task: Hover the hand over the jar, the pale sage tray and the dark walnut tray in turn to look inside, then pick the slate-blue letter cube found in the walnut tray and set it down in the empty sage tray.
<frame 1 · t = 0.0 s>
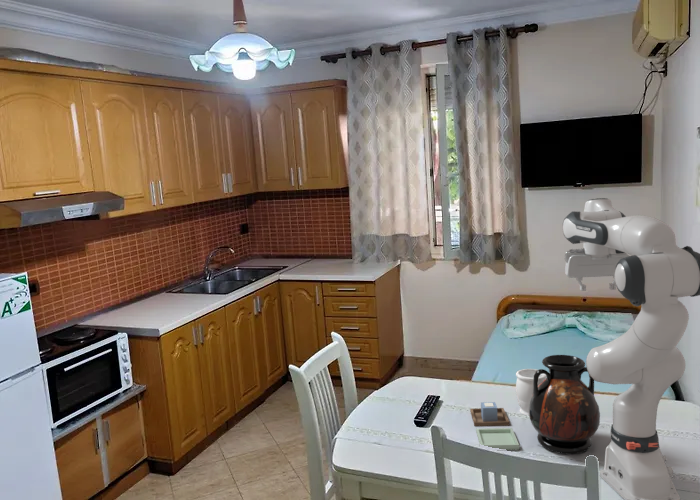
hand: (597, 289, 191), 48 cm above the table, tool pointing down, fingers open, 8 cm apart
letter cube: (489, 418, 208), point 1 cm above the table, touching walnut tray
jar: (531, 413, 212), on the table
walnut tray: (489, 419, 208), on the table
amphora vase: (564, 444, 188), on the table
sage tray: (497, 441, 192), on the table
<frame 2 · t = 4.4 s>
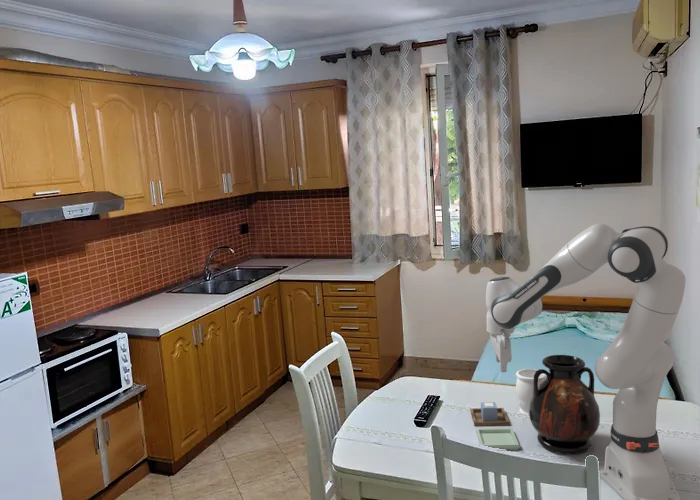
hand: (501, 366, 192), 25 cm above the table, tool pointing down, fingers open, 8 cm apart
nothing on the table moved.
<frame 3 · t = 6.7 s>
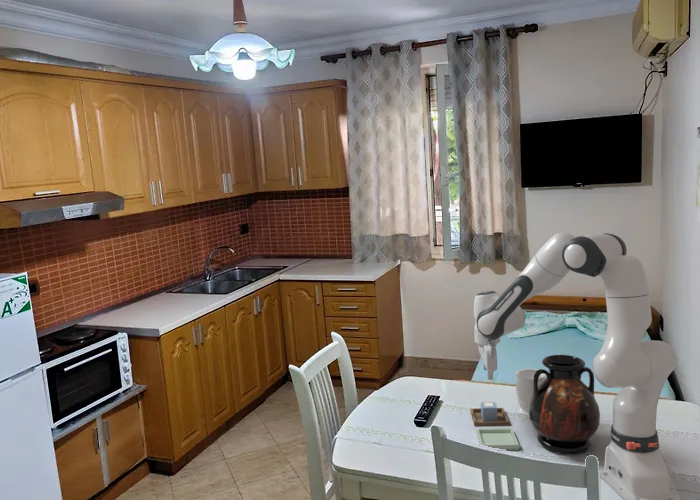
hand: (488, 374, 206), 17 cm above the table, tool pointing down, fingers open, 8 cm apart
nothing on the table moved.
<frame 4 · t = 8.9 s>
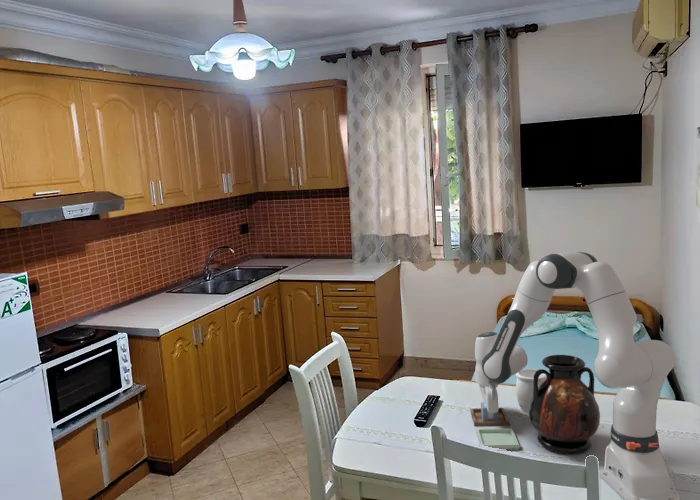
hand: (489, 414, 208), 2 cm above the table, tool pointing down, fingers closed on letter cube, 5 cm apart
letter cube: (489, 418, 208), point 1 cm above the table, touching gripper, walnut tray
everything else where it was.
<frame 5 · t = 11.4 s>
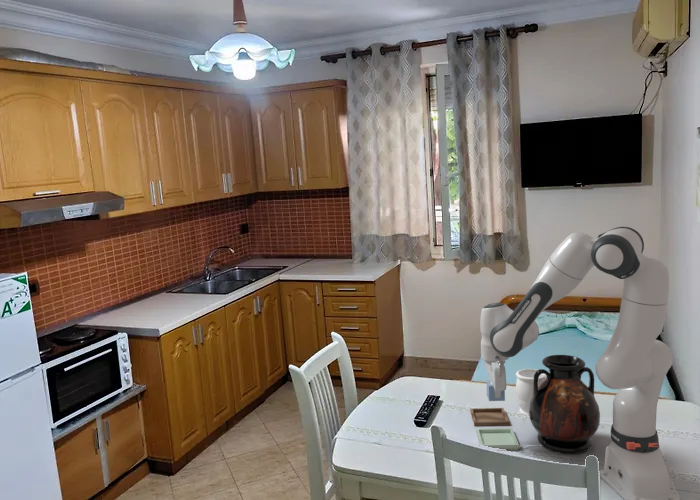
hand: (495, 393, 190), 17 cm above the table, tool pointing down, fingers closed on letter cube, 5 cm apart
letter cube: (495, 397, 190), point 15 cm above the table, touching gripper
everything else where it was.
when the fingers open (5 cm above the table, at t = 14.2 s): letter cube drops 2 cm, resting on sage tray.
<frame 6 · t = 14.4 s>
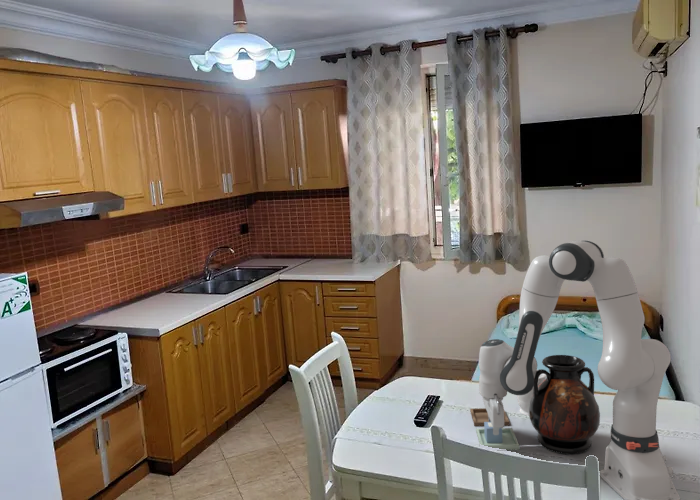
hand: (493, 428, 192), 5 cm above the table, tool pointing down, fingers open, 7 cm apart
letter cube: (493, 439, 193), point 1 cm above the table, touching sage tray
amphora vase: (564, 444, 188), on the table, touching arm
everything else where it was.
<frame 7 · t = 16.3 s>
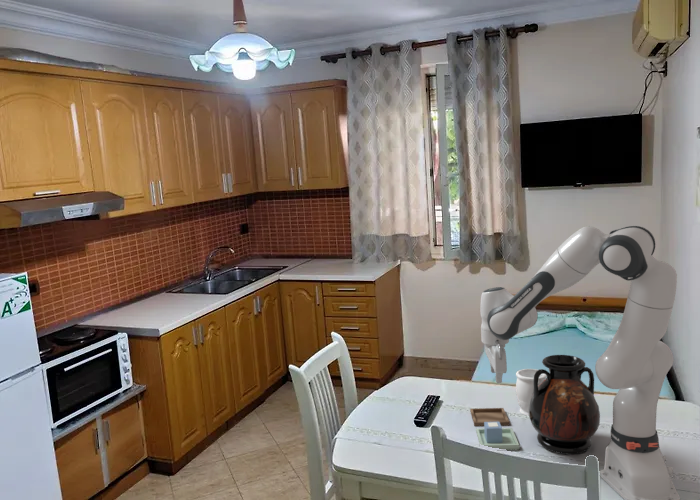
hand: (496, 377, 191), 21 cm above the table, tool pointing down, fingers open, 8 cm apart
amphora vase: (563, 444, 188), on the table
everything else where it was.
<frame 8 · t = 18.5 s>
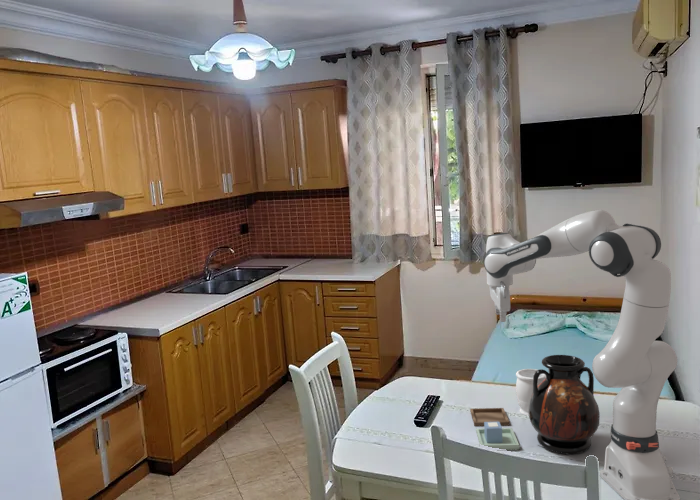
hand: (500, 317, 204), 37 cm above the table, tool pointing down, fingers open, 8 cm apart
nothing on the table moved.
at the end: letter cube inside the target area on the sage tray (1.2 cm from its centre), point 0.6 cm above the sage tray's base; the gripper is holding nothing; letter cube inside the target area on the table beside the walnut tray (38.0 cm from its centre), point 0.6 cm above the table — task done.
